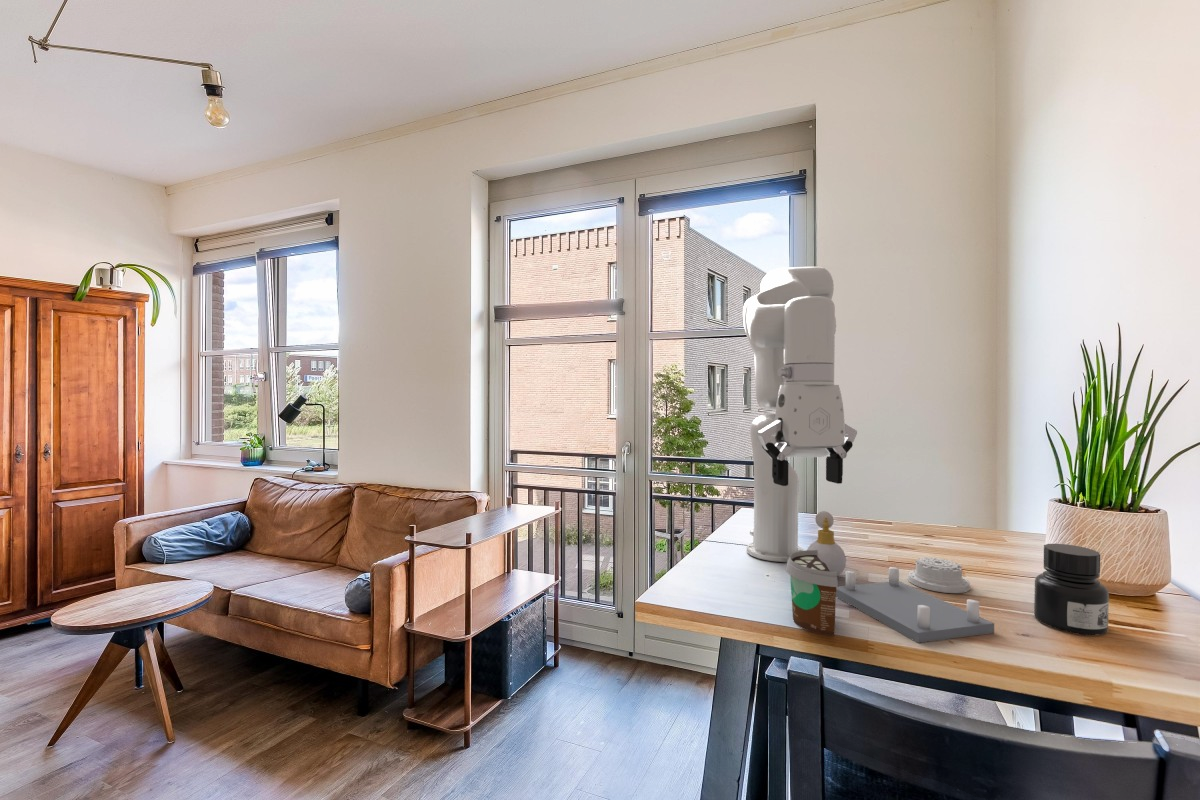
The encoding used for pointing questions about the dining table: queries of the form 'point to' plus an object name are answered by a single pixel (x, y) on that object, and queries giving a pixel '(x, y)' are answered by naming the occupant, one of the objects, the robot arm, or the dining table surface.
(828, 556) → the perfume bottle
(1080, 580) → the ink bottle
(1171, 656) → the dining table surface
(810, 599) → the food container
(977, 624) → the seating plate
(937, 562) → the white cake
